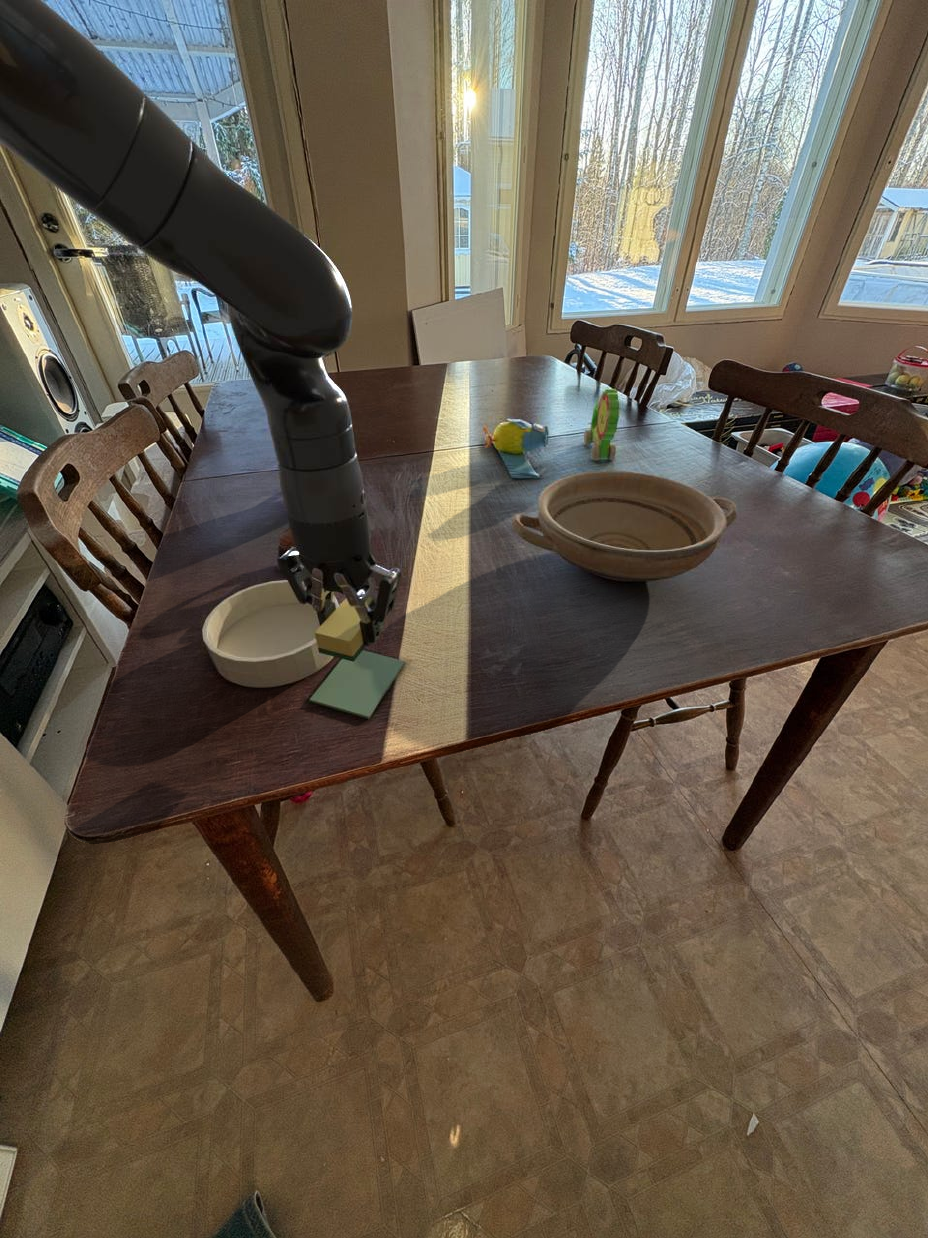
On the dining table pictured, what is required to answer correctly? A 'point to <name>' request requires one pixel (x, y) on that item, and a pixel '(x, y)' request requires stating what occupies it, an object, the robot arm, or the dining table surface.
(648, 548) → the ceramic bowl
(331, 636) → the sponge
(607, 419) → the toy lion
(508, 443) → the toy airplane
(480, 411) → the dining table surface
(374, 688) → the mat
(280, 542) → the pottery mug
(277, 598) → the wash bowl
